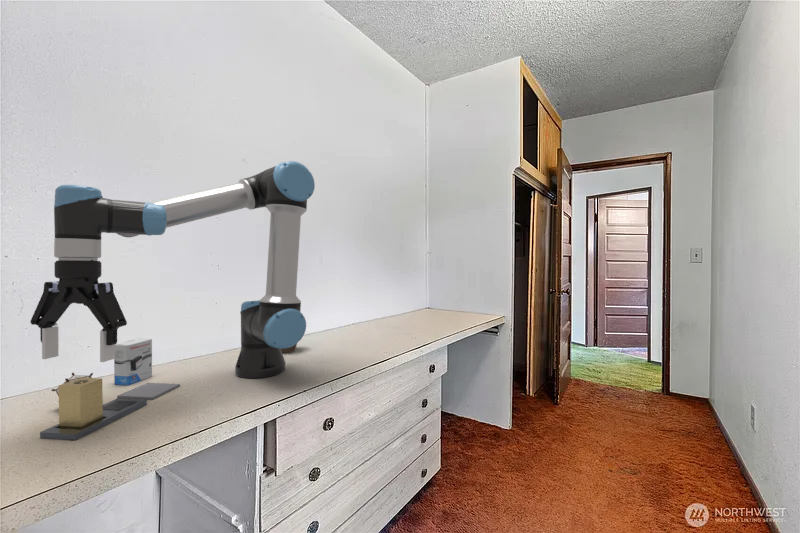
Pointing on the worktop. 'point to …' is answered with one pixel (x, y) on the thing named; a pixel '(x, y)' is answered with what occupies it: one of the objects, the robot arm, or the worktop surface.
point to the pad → (148, 391)
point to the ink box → (132, 361)
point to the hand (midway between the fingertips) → (78, 359)
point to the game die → (72, 380)
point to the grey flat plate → (110, 414)
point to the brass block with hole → (80, 403)
